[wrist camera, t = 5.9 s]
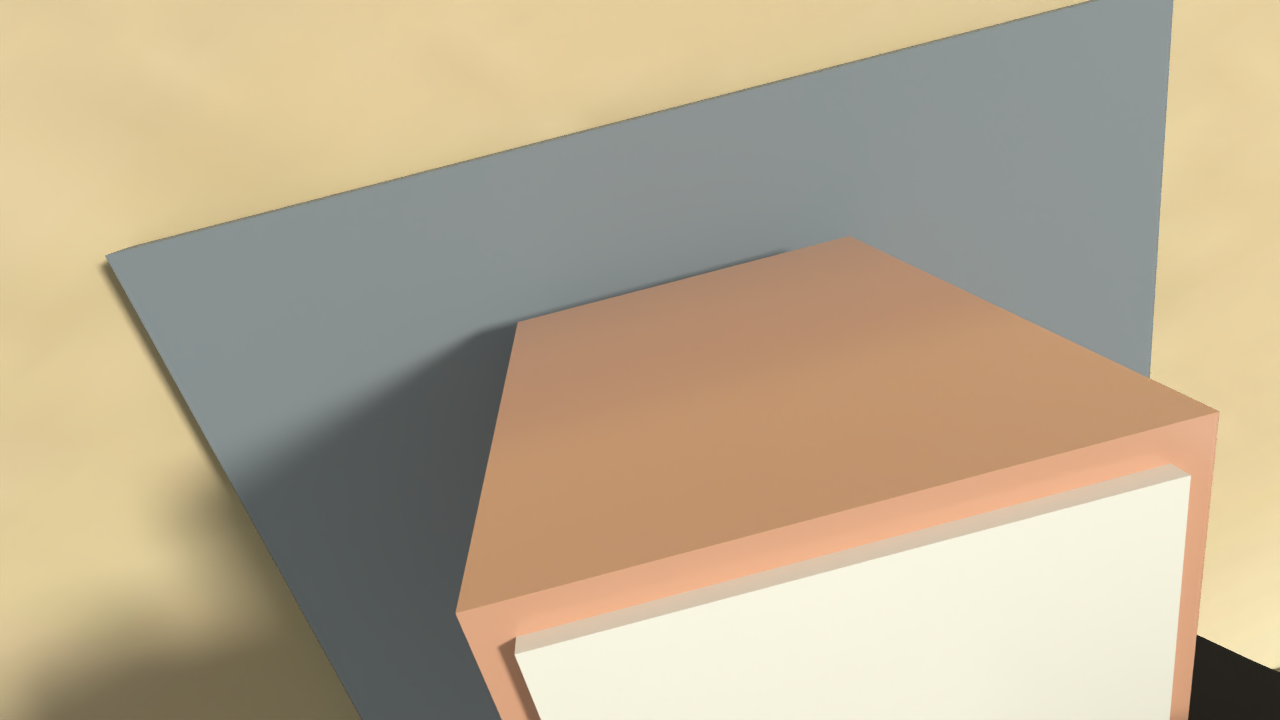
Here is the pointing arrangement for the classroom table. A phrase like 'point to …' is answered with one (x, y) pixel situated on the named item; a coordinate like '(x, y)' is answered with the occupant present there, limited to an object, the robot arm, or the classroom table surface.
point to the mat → (628, 288)
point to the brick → (833, 509)
